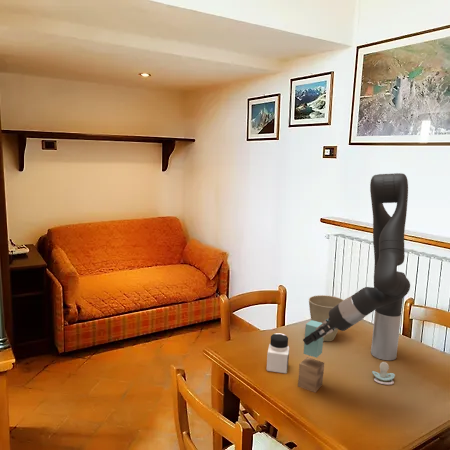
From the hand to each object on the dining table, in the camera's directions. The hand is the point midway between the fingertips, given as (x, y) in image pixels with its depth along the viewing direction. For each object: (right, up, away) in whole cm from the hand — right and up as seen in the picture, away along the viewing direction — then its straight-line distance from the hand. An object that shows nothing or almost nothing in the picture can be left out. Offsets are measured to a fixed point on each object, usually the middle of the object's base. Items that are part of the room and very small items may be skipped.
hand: (308, 339), depth 138 cm
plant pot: (+14, -10, +39) cm, 43 cm away
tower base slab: (+1, -16, +1) cm, 16 cm away
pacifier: (+27, -16, +6) cm, 32 cm away
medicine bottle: (-8, -13, +12) cm, 20 cm away
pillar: (+1, -4, 0) cm, 5 cm away
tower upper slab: (+1, -12, +1) cm, 12 cm away
